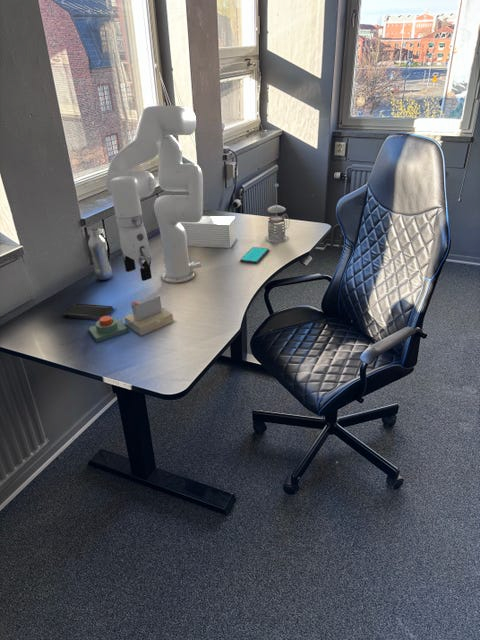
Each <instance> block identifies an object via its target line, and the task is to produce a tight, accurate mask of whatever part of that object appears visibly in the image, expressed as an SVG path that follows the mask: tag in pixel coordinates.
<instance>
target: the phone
mask: <svg viewBox="0 0 480 640" xmlns="http://www.w3.org/2000/svg"><path fill="white" fill-rule="evenodd" d="M113 311H114V307H113V306H112V305H104V304H103V305H100V304H89V303H88V304H86V303H74V304H72V305H71V306H70V307H69V308H68V309H67V310H65V312H64V313H63V315H64V317H65V318H70V319H84V320H96V321H98V320H100V318H101V317H103V316H110V314H112V312H113Z"/></svg>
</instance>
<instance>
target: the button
mask: <svg viewBox="0 0 480 640" xmlns="http://www.w3.org/2000/svg"><path fill="white" fill-rule="evenodd" d="M111 317H112V316H110V315H108V316H103V317H101V318H100V324H101V326H107V325H110V324H112V318H113V317H112V318H111Z"/></svg>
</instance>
